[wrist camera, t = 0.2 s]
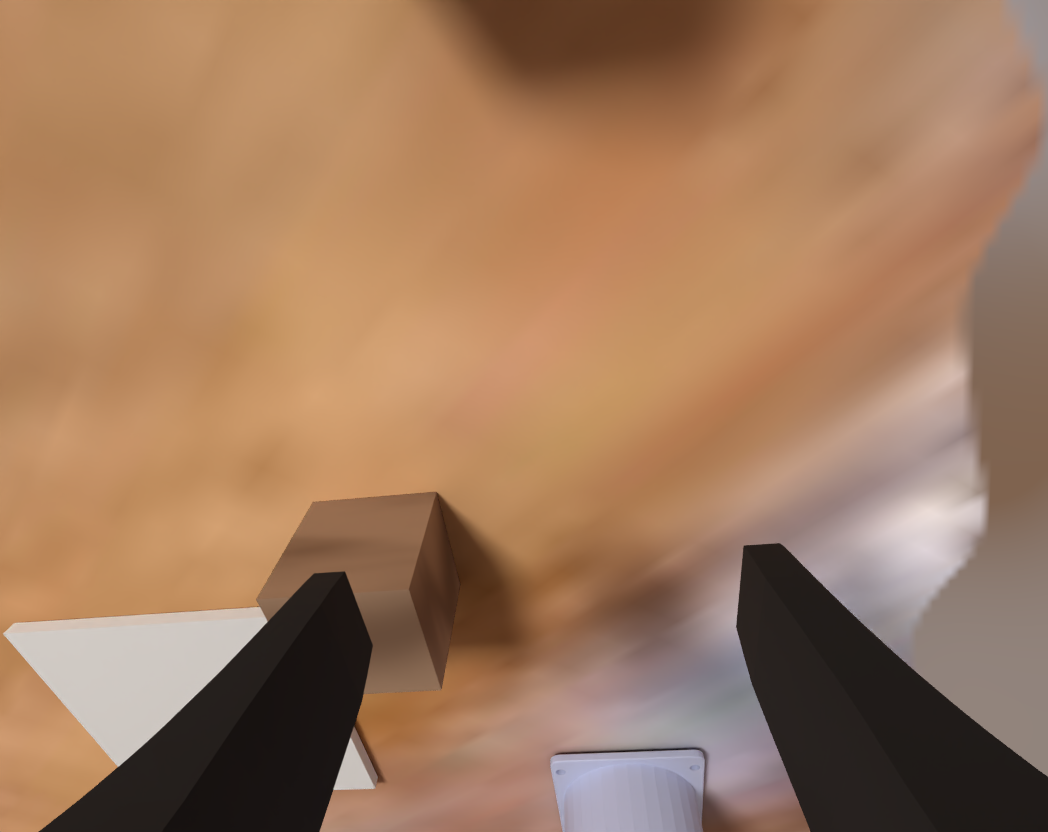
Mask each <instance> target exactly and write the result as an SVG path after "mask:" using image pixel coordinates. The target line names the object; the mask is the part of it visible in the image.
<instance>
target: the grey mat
mask: <svg viewBox="0 0 1048 832" xmlns="http://www.w3.org/2000/svg"><path fill="white" fill-rule="evenodd" d="M267 622H268V621H267V619H266V618H265V616H264V614H263V612H262V610H261V608H260V607H253V608H238V609H222V610H207V611H192V612H177V613H161V614H146V615H131V616H115V617H100V618H85V619H70V620H54V621H39V622H24V623H14V624H13V625H12V626H11V627H10V628H9V629H8V630H7V631H5V632H4V633H3V634H4V635H5V636H6V638H7V639H8V640H9V641H10V642H11V643H12V645H13V646H14V647H15V648H16V649H17V650H18V652H19V653H20V654H21V655H22V656H23V657H24V658H25V660H26V661H27V662H28V663H29V664H30V665H31V667H32V668H33V669H34V670H35V671H36V672H37V674H38V675H39V676H40V677H41V678H42V679H43V680H44V682H45V683H46V684H47V685H48V686H49V687H50V689H51V690H52V691H53V692H54V693H55V694H56V696H57V697H58V698H59V699H60V700H61V701H62V702H63V704H64V705H65V706H66V707H67V708H68V709H69V711H70V712H71V713H72V714H73V715H74V716H75V718H76V719H77V720H78V721H79V722H80V723H81V724H82V726H83V727H84V728H85V729H86V730H87V731H88V733H89V734H90V735H91V736H92V737H93V738H94V740H95V741H96V742H97V743H98V744H99V745H100V746H101V748H102V749H103V750H104V751H105V752H106V753H107V755H108V756H109V757H110V758H111V759H112V760H113V762H114V763H115V764H116V765H117V766H118V767H119V766H120V765H121V764H122V763H123V762H125V761H126V760H127V759H128V758H129V757H130V756H131V755H133V754H134V753H135V752H136V751H137V750H138V749H139V748H140V747H142V746H143V745H144V744H145V743H146V742H147V741H148V740H149V739H150V738H152V737H153V736H154V735H155V734H156V733H157V732H158V731H159V730H160V729H161V728H162V727H164V726H165V725H166V724H167V723H168V722H169V721H170V720H171V719H172V718H173V717H174V716H175V715H176V714H177V713H178V712H179V711H180V710H181V709H182V708H183V707H184V706H185V705H186V704H187V703H188V702H189V701H190V700H191V699H192V698H193V697H194V696H195V695H196V694H198V693H199V692H200V691H201V690H202V689H203V688H204V687H205V686H206V685H207V684H208V683H209V682H210V681H211V680H212V679H213V678H214V677H215V676H216V675H217V674H218V673H219V672H220V671H221V670H222V669H223V668H224V667H225V666H226V665H227V664H228V663H229V662H230V661H231V660H232V659H233V658H234V657H235V656H236V654H237V653H238V652H239V651H240V650H241V649H242V648H243V647H244V646H245V645H246V644H247V643H248V642H249V641H250V640H251V639H252V638H253V637H254V636H255V635H256V634H257V633H258V632H259V631H260V629H261V628H262V627H263V626H264V625H265V624H266V623H267ZM377 779H378V776H377V774H376V772H375V770H374V768H373V765H372V763H371V761H370V759H369V757H368V755H367V753H366V750H365V748H364V746H363V744H362V742H361V740H360V738H359V735H358V733H357V731H356V729H355V727H354V728H353V731H352V734H351V737H350V740H349V743H348V746H347V749H346V753H345V756H344V759H343V762H342V765H341V768H340V771H339V774H338V777H337V780H336V783H335V786H334V789H333V790H346V789H375V787H376V783H377Z"/></svg>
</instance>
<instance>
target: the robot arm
mask: <svg viewBox="0 0 1048 832" xmlns="http://www.w3.org/2000/svg"><path fill="white" fill-rule="evenodd" d="M736 627H737V631H738V635H739V639H740V642H741V646H742V650H743V654H744V657H745V661H746V664H747V668H748V671H749V675H750V678H751V682H752V685H753V688H754V690H755V693H756V696H757V698H758V701H759V703H760V706H761V708H762V711H763V713H764V716H765V718H766V721H767V723H768V726H769V729H770V731H771V734H772V736H773V739H774V741H775V744H776V746H777V749H778V751H779V753H780V756H781V758H782V761H783V763H784V766H785V768H786V771H787V773H788V776H789V778H790V781H791V783H792V786H793V788H794V791H795V793H796V796H797V798H798V801H799V803H800V806H801V808H802V811H803V813H804V816H805V818H806V821H807V823H808V826H809V828H810V831H811V832H1048V777H1047V776H1046V775H1045V774H1043V773H1042V772H1040V771H1038V769H1036V768H1035V767H1034V766H1032V765H1031V764H1030V763H1028V762H1027V761H1026V760H1024V759H1023V758H1022V757H1020V756H1019V755H1018V754H1016V753H1015V752H1014V751H1013V750H1011V749H1010V748H1008V747H1007V746H1006V745H1005V744H1003V743H1002V742H1001V741H999V740H998V739H997V738H995V737H994V736H993V735H992V734H990V733H989V732H988V731H986V730H985V729H984V728H983V727H981V726H980V725H979V724H978V723H976V722H975V721H974V720H973V719H971V718H970V717H969V716H968V715H966V714H965V713H964V712H963V711H962V710H960V709H959V708H958V707H957V706H956V705H954V704H953V703H952V702H951V701H949V700H948V699H947V698H946V697H945V696H944V695H942V694H941V693H940V692H939V691H938V690H936V689H935V688H934V687H933V686H932V685H931V684H929V683H928V682H927V681H926V680H925V679H923V678H922V677H921V676H920V675H919V674H918V673H916V672H915V671H914V670H913V669H912V668H911V667H910V666H908V665H907V664H906V663H905V662H904V661H903V660H902V659H901V658H899V657H898V656H897V655H896V654H895V653H894V652H893V651H892V650H891V649H889V648H888V647H887V646H886V645H885V644H884V643H883V642H882V641H881V640H880V639H879V638H878V637H876V636H875V635H874V634H873V633H872V632H871V631H870V630H869V629H868V628H867V627H866V626H864V625H863V624H862V623H861V622H860V621H859V620H858V619H857V618H856V617H855V616H854V615H853V614H852V613H851V612H850V611H849V610H847V609H846V608H845V607H844V606H843V605H842V604H841V603H840V602H839V601H838V600H837V599H836V598H835V597H834V596H833V595H832V594H831V593H830V592H829V591H828V590H827V589H826V588H825V587H824V586H823V585H822V584H821V583H820V582H819V581H818V580H817V579H816V578H815V577H814V576H813V575H812V574H811V573H810V572H809V571H808V570H807V569H806V568H805V567H804V566H803V565H802V564H801V563H800V562H799V561H798V560H797V559H796V558H795V557H794V556H793V555H792V554H791V553H790V552H789V551H788V550H787V549H786V548H785V547H784V546H783V545H781V544H780V543H777V544H762V545H746V546H744V548H743V559H742V570H741V581H740V592H739V603H738V614H737V625H736ZM372 648H373V644H372V641H371V639H370V636H369V634H368V631H367V628H366V626H365V623H364V620H363V618H362V615H361V612H360V610H359V607H358V604H357V602H356V599H355V596H354V594H353V591H352V588H351V586H350V583H349V580H348V578H347V575H346V572H345V571H342V572H326V573H314V574H313V575H312V576H311V577H310V578H309V579H308V580H307V581H306V582H305V583H304V584H303V585H302V586H301V587H300V588H299V589H298V590H297V591H296V592H295V593H294V594H293V595H292V596H291V597H290V599H289V600H288V601H287V602H286V603H285V604H284V605H283V606H282V607H281V608H280V609H279V610H278V611H277V612H276V613H275V615H274V616H273V617H272V618H271V619H270V620H269V621H268V622H267V623H266V624H265V625H264V626H263V627H262V628H261V629H260V631H259V632H258V633H257V634H256V635H255V636H254V637H253V638H252V639H251V640H250V641H249V642H248V643H247V644H246V645H245V646H244V647H243V648H242V649H241V650H240V651H239V652H238V653H237V654H236V656H235V657H234V658H233V659H232V660H231V661H230V662H229V663H228V664H227V665H226V666H225V667H224V668H223V669H222V670H221V671H220V672H219V673H218V674H217V675H216V676H215V677H214V678H213V679H212V680H211V681H210V682H209V683H208V684H207V685H206V686H205V687H204V688H203V689H202V690H201V691H200V692H199V693H198V694H196V695H195V696H194V697H193V698H192V699H191V700H190V701H189V702H188V703H187V704H186V705H185V706H184V707H183V708H182V709H181V710H180V711H179V712H178V713H177V714H176V715H175V716H174V717H173V718H172V719H171V720H170V721H169V722H168V723H167V724H166V725H165V726H164V727H162V728H161V729H160V730H159V731H158V732H157V733H156V734H155V735H154V736H153V737H152V738H150V739H149V740H148V741H147V742H146V743H145V744H144V745H143V746H142V747H140V748H139V749H138V750H137V751H136V752H135V753H134V754H133V755H131V756H130V757H129V758H128V759H127V760H126V761H125V762H123V763H122V764H121V765H120V766H119V767H118V768H116V769H115V770H114V771H113V772H112V773H111V774H109V775H108V776H107V777H106V778H105V779H104V780H102V781H101V782H100V783H99V784H98V785H97V786H95V787H94V788H93V789H92V790H91V791H89V792H88V793H87V794H86V795H85V796H83V797H82V798H81V799H80V800H79V801H77V802H76V803H75V804H74V805H72V806H71V807H70V808H68V809H67V810H66V811H65V812H63V813H62V814H61V815H60V816H58V817H57V818H56V819H54V820H53V821H52V822H51V823H49V824H48V825H47V826H46V827H44V828H43V829H42V830H40V831H39V832H319V831H320V828H321V825H322V822H323V819H324V816H325V813H326V810H327V807H328V804H329V801H330V798H331V795H332V792H333V789H334V786H335V783H336V780H337V777H338V774H339V771H340V768H341V765H342V762H343V759H344V756H345V753H346V749H347V746H348V743H349V740H350V737H351V734H352V731H353V728H354V725H355V722H356V718H357V715H358V712H359V709H360V706H361V702H362V698H363V694H364V689H365V684H366V680H367V675H368V669H369V664H370V659H371V653H372ZM550 767H551V772H552V777H553V783H554V788H555V793H556V798H557V804H558V809H559V814H560V819H561V825H562V830H563V832H703V828H702V808H703V788H704V769H705V759H704V755H703V753H702V752H701V751H699V750H667V751H640V752H613V753H586V754H559V755H555V756H553V757H552V758H551V760H550Z"/></svg>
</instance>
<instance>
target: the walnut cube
mask: <svg viewBox="0 0 1048 832" xmlns="http://www.w3.org/2000/svg"><path fill="white" fill-rule="evenodd" d="M342 571H345V572H346V575H347V578H348V580H349V583H350V586H351V588H352V591H353V594H354V596H355V599H356V602H357V604H358V607H359V610H360V612H361V615H362V618H363V620H364V623H365V626H366V628H367V631H368V634H369V636H370V639H371V641H372V644H373V648H372V653H371V659H370V664H369V669H368V675H367V680H366V684H365V689H364V694H373V693H394V692H415V691H436V690H441V689H442V684H443V678H444V673H445V667H446V662H447V656H448V650H449V645H450V639H451V634H452V628H453V623H454V617H455V612H456V606H457V600H458V595H459V589H460V581H459V577H458V574H457V570H456V566H455V562H454V558H453V554H452V550H451V546H450V542H449V539H448V535H447V531H446V527H445V523H444V519H443V515H442V511H441V507H440V504H439V500H438V496H437V492H427V493H415V494H403V495H391V496H379V497H367V498H355V499H343V500H331V501H319V502H313V503H312V504H311V506H310V508H309V510H308V511H307V513H306V515H305V516H304V518H303V520H302V522H301V523H300V525H299V527H298V528H297V530H296V532H295V534H294V535H293V537H292V539H291V540H290V542H289V544H288V546H287V547H286V549H285V551H284V552H283V554H282V556H281V558H280V559H279V561H278V563H277V564H276V566H275V568H274V570H273V571H272V573H271V575H270V577H269V578H268V580H267V582H266V583H265V585H264V587H263V589H262V590H261V592H260V594H259V595H258V597H257V599H256V600H257V602H258V604H259V606H260V608H261V610H262V612H263V614H264V616H265V618H266V619H267V621H269V620H270V619H271V618H272V617H273V616H274V615H275V613H276V612H277V611H278V610H279V609H280V608H281V607H282V606H283V605H284V604H285V603H286V602H287V601H288V600H289V599H290V597H291V596H292V595H293V594H294V593H295V592H296V591H297V590H298V589H299V588H300V587H301V586H302V585H303V584H304V583H305V582H306V581H307V580H308V579H309V578H310V577H311V576H312V575H313V574H314V573H326V572H342Z"/></svg>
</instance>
